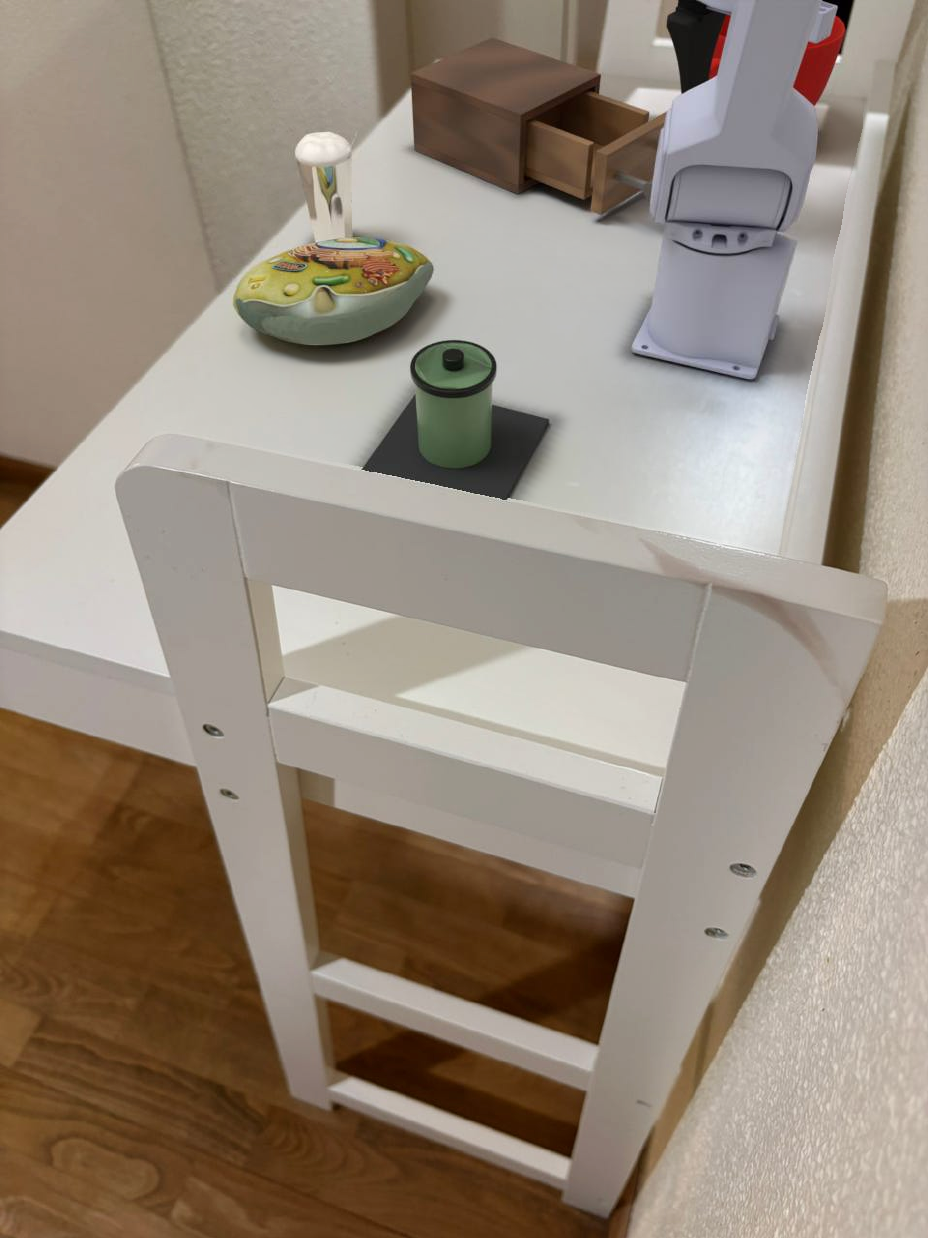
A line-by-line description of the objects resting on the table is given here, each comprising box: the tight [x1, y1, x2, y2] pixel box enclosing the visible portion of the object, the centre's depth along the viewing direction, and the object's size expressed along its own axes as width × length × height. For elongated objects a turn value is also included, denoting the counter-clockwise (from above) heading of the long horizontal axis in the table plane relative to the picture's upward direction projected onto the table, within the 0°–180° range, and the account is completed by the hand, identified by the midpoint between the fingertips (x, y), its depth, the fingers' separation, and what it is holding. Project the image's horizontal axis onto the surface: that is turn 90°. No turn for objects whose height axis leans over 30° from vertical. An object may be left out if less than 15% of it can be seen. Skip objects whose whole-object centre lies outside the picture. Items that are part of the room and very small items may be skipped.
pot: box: [409, 339, 498, 469], centre depth 61 cm, size 6×6×7 cm
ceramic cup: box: [709, 14, 846, 107], centre depth 89 cm, size 13×17×10 cm
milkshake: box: [294, 127, 359, 243], centre depth 77 cm, size 4×5×10 cm
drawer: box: [524, 90, 667, 216], centre depth 84 cm, size 17×10×5 cm, turn 48°
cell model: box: [232, 236, 435, 346], centre depth 71 cm, size 11×8×15 cm
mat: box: [361, 393, 550, 501], centre depth 64 cm, size 10×10×1 cm
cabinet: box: [410, 37, 602, 195], centre depth 89 cm, size 14×12×7 cm
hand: (716, 117), depth 75 cm, fingers open, 4 cm apart
